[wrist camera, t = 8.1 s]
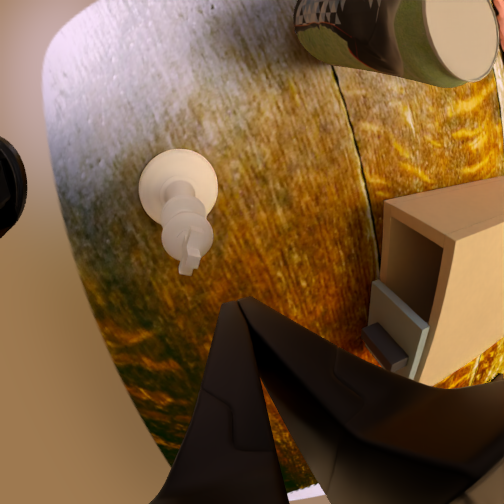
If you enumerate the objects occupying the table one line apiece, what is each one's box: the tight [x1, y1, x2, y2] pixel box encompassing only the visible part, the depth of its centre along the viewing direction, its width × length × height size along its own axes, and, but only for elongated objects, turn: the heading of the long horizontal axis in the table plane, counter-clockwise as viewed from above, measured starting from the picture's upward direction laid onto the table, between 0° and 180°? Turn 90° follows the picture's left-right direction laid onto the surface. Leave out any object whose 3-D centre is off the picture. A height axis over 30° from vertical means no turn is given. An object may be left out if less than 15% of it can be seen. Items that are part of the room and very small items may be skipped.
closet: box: [380, 176, 504, 386], centre depth 26 cm, size 26×16×8 cm, turn 98°
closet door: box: [361, 279, 430, 380], centre depth 25 cm, size 3×8×7 cm, turn 8°
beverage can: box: [293, 0, 499, 88], centre depth 12 cm, size 6×7×12 cm
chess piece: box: [139, 149, 218, 276], centre depth 15 cm, size 5×5×10 cm
